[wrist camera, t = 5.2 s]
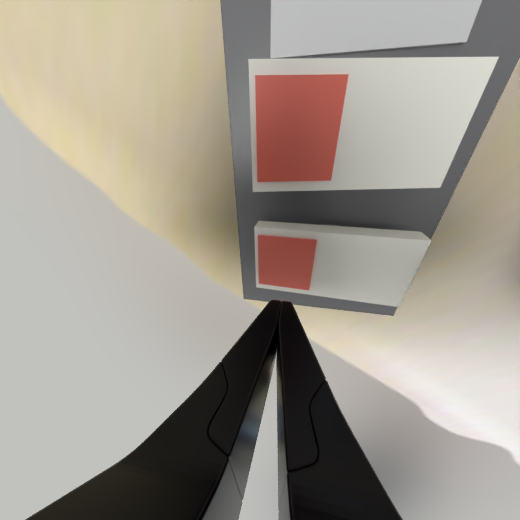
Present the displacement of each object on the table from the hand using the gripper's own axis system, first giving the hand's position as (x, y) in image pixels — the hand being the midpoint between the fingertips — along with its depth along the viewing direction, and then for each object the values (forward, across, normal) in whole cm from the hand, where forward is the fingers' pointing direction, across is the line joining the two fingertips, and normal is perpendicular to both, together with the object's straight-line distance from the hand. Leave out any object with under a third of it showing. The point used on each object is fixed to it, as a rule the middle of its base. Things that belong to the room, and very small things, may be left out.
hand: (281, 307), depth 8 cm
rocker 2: (+4, -2, 0) cm, 4 cm away
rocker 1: (+4, -2, -6) cm, 7 cm away
